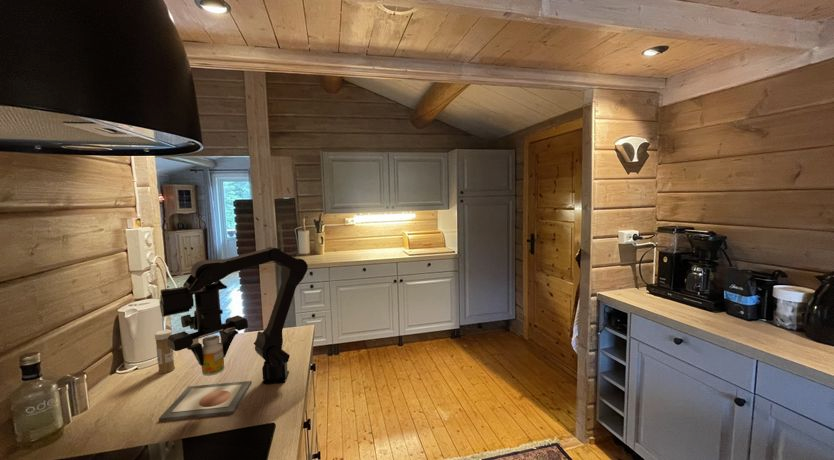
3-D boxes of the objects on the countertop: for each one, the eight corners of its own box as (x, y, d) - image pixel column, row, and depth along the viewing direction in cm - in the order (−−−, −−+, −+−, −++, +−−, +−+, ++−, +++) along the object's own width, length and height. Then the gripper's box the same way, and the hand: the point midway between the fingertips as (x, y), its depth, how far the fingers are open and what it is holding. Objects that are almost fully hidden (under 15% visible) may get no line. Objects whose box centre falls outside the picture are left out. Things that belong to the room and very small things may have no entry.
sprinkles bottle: (174, 371, 114) (171, 332, 112) (157, 375, 111) (153, 335, 110) (175, 365, 117) (171, 328, 116) (158, 369, 115) (155, 331, 113)
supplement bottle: (197, 374, 94) (194, 340, 93) (215, 365, 99) (212, 332, 98) (211, 377, 92) (208, 343, 91) (228, 368, 97) (226, 335, 96)
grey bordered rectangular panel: (251, 383, 106) (251, 379, 105) (233, 413, 91) (233, 409, 91) (188, 388, 103) (188, 385, 103) (159, 421, 88) (158, 417, 88)
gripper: (229, 293, 106) (232, 342, 107) (156, 311, 91) (162, 366, 92) (247, 299, 99) (251, 351, 101) (172, 319, 84) (178, 379, 86)
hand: (212, 361), depth 95 cm, fingers closed on supplement bottle, 5 cm apart
